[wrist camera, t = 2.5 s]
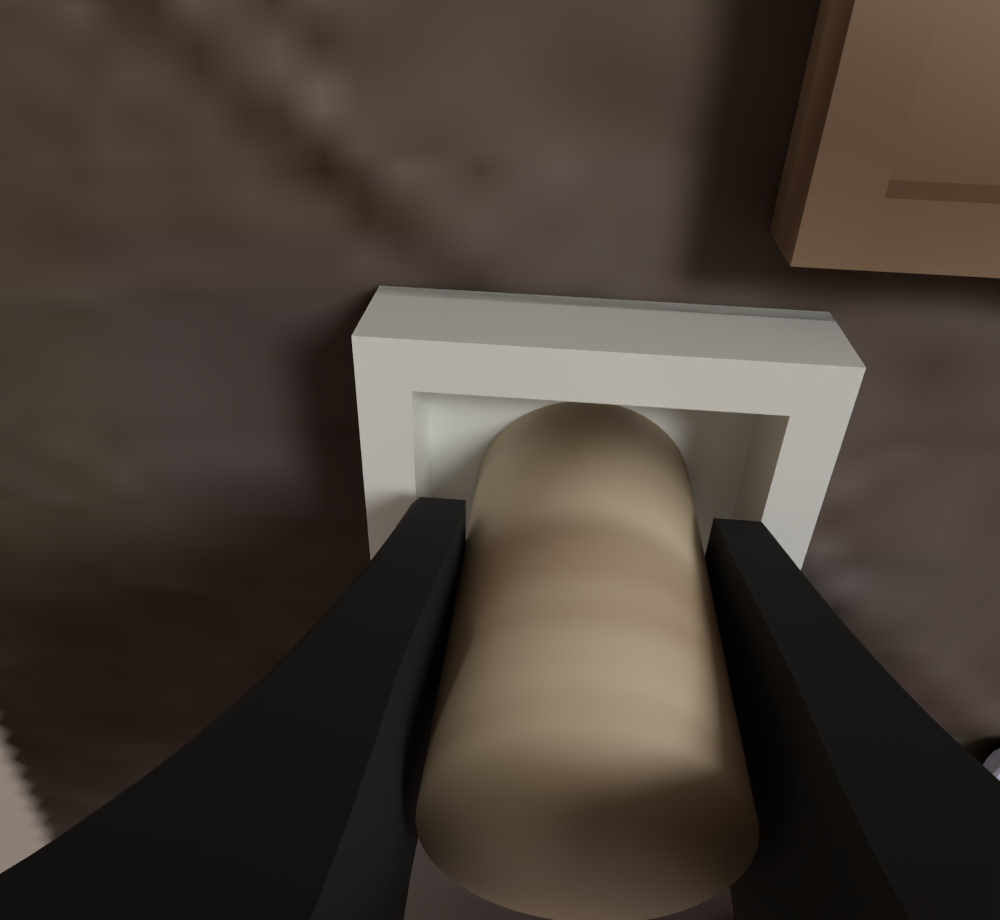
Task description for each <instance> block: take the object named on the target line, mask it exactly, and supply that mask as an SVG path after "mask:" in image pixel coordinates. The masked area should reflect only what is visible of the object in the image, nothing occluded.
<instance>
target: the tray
mask: <svg viewBox="0 0 1000 920" xmlns="http://www.w3.org/2000/svg"><path fill="white" fill-rule="evenodd" d="M769 233H770V235H771V237H772V238H773V240H774V241H775V243H776V244H777V246H778V248H779V249H780V251H781V252H782V254H783V256H784V257H785V259H786V260H787V262H788V264H789V265H790V267H808V268H826V269H844V270H862V271H880V272H898V273H916V274H934V275H952V276H970V277H988V278H1000V0H821V1H820V6H819V10H818V15H817V19H816V24H815V28H814V33H813V37H812V42H811V46H810V51H809V55H808V60H807V64H806V69H805V73H804V78H803V82H802V87H801V91H800V96H799V100H798V105H797V109H796V114H795V118H794V123H793V127H792V132H791V136H790V141H789V145H788V150H787V154H786V159H785V163H784V168H783V172H782V177H781V181H780V186H779V190H778V195H777V199H776V204H775V208H774V213H773V217H772V222H771V226H770V231H769Z"/></svg>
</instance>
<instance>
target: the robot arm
mask: <svg viewBox="0 0 1000 920" xmlns="http://www.w3.org/2000/svg"><path fill="white" fill-rule="evenodd" d="M465 544H466V500H458V499H444V498H431V497H419V498H418V499H417V500H415V501H414V502H413V503H412V504H411V505H410V507H409V509H408V510H407V512H406V513H405V515H404V516H403V518H402V519H401V520H400V522H399V523H398V525H397V526H396V528H395V529H394V530H393V532H392V533H391V534H390V536H389V537H388V538H387V540H386V541H385V543H384V544H383V545H382V546H381V548H380V549H379V550H378V552H377V553H376V554H375V555H374V557H373V558H372V559H371V561H370V562H369V563H368V564H367V566H366V567H365V568H364V569H363V570H362V572H361V573H360V574H359V575H358V576H357V578H356V579H355V580H354V581H353V582H352V584H351V585H350V586H349V587H348V588H347V590H346V591H345V592H344V593H343V594H342V596H341V597H340V598H339V599H338V600H337V601H336V603H335V604H334V605H333V606H332V607H331V608H330V609H329V610H328V611H327V613H326V614H325V615H324V616H323V617H322V618H321V619H320V620H319V621H318V622H317V623H316V624H315V625H314V626H313V627H312V628H311V630H310V631H309V632H308V633H307V634H306V635H305V636H304V637H303V638H302V639H301V640H300V641H299V642H298V643H297V644H296V645H295V647H294V648H293V649H292V650H291V651H290V652H289V653H288V654H287V655H286V656H285V657H284V658H283V659H282V660H281V661H280V662H279V663H278V664H277V665H275V666H274V667H273V668H272V669H271V670H270V671H269V672H268V673H267V674H266V675H265V676H264V677H263V678H262V679H261V680H260V681H259V682H258V683H257V684H256V685H254V686H253V687H252V688H251V689H250V690H249V691H248V692H247V693H245V694H244V695H243V696H242V697H241V698H240V699H239V700H238V701H237V702H235V703H234V704H233V705H232V706H231V707H230V708H229V709H228V710H226V711H225V712H224V713H223V714H222V715H221V716H219V717H218V718H217V719H216V720H214V721H213V722H212V723H211V724H210V725H208V726H207V727H206V728H205V729H203V730H202V731H201V732H200V733H199V734H197V735H196V736H195V737H194V738H193V739H191V740H190V741H189V742H188V743H186V744H185V745H184V746H183V747H182V748H180V749H179V750H178V751H177V752H175V753H174V754H173V755H172V756H170V757H169V758H168V759H166V760H165V761H164V762H163V763H161V764H160V765H159V766H157V767H156V768H155V769H153V770H152V771H151V772H149V773H148V774H147V775H145V776H144V777H143V778H141V779H140V780H139V781H137V782H136V783H134V784H133V785H132V786H130V787H129V788H127V789H126V790H125V791H123V792H122V793H120V794H119V795H117V796H116V797H115V798H113V799H112V800H110V801H109V802H107V803H106V804H105V805H103V806H102V807H100V808H99V809H97V810H96V811H95V812H93V813H92V814H90V815H89V816H87V817H86V818H85V819H83V820H82V821H80V822H79V823H77V824H76V825H75V826H73V827H72V828H70V829H69V830H67V831H66V832H65V833H63V834H62V835H60V836H59V837H58V838H56V839H55V840H53V841H51V842H50V843H48V844H47V845H45V846H44V847H42V848H41V849H39V850H38V851H36V852H35V853H33V854H32V855H30V856H29V857H27V858H25V859H24V860H22V861H20V862H19V863H17V864H16V865H14V866H12V867H11V868H9V869H7V870H6V871H4V872H2V873H1V874H0V920H404V913H405V907H406V900H407V894H408V887H409V881H410V875H411V870H412V865H413V860H414V855H415V850H416V845H417V840H418V834H417V828H416V822H415V819H416V807H417V801H418V796H419V790H420V785H421V780H422V774H423V769H424V763H425V758H426V753H427V747H428V742H429V736H430V731H431V726H432V720H433V715H434V709H435V704H436V699H437V693H438V688H439V682H440V677H441V672H442V666H443V661H444V655H445V650H446V645H447V639H448V634H449V628H450V623H451V618H452V612H453V607H454V603H455V598H456V593H457V587H458V582H459V577H460V571H461V566H462V560H463V555H464V550H465ZM705 561H706V566H707V571H708V576H709V581H710V586H711V591H712V596H713V601H714V606H715V611H716V616H717V620H718V625H719V630H720V635H721V640H722V645H723V650H724V655H725V660H726V665H727V670H728V675H729V680H730V685H731V690H732V695H733V700H734V705H735V710H736V715H737V720H738V725H739V730H740V735H741V740H742V745H743V750H744V755H745V760H746V765H747V770H748V775H749V780H750V785H751V790H752V795H753V800H754V805H755V810H756V815H757V820H758V825H759V842H758V846H757V850H756V854H755V856H754V858H753V860H752V862H751V864H750V865H749V867H748V868H747V869H746V871H745V872H744V873H743V874H742V876H741V877H740V878H739V879H738V880H737V881H735V882H734V883H733V884H732V885H731V886H730V891H731V898H732V904H733V911H734V920H1000V748H999V749H997V750H995V751H993V752H992V753H991V754H990V755H989V757H988V758H987V759H986V761H985V762H984V764H983V765H982V764H981V763H980V762H979V761H978V760H976V759H975V758H974V757H973V756H972V755H971V754H970V753H969V752H968V751H967V750H965V749H964V748H963V747H962V746H961V745H960V744H959V743H958V742H957V741H956V740H954V739H953V738H952V737H951V736H950V735H949V734H948V733H947V732H946V731H945V730H944V729H943V728H942V727H941V726H940V725H939V724H938V723H937V722H936V721H935V720H934V719H933V718H932V717H931V716H930V715H928V714H927V713H926V712H925V711H924V710H923V708H922V707H921V706H920V705H919V704H918V703H917V702H916V701H915V700H914V699H913V698H912V697H911V696H910V695H909V694H908V693H907V692H906V691H905V690H904V689H903V688H902V687H901V686H900V685H899V684H898V683H897V682H896V681H895V679H894V678H893V677H892V676H891V675H890V674H889V673H888V672H887V671H886V670H885V669H884V668H883V667H882V666H881V665H880V664H879V662H878V661H877V660H876V659H875V658H874V657H873V656H872V655H871V654H870V653H869V651H868V650H867V649H866V648H865V647H864V646H863V644H862V643H861V642H860V641H859V640H858V639H857V638H856V636H855V635H854V634H853V633H852V632H851V631H850V629H849V628H848V627H847V626H846V625H845V624H844V623H843V621H842V620H841V619H840V618H839V617H838V616H837V614H836V613H835V612H834V611H833V610H832V608H831V607H830V606H829V605H828V604H827V602H826V601H825V600H824V599H823V598H822V596H821V595H820V594H819V593H818V591H817V590H816V589H815V588H814V586H813V585H812V584H811V583H810V581H809V580H808V579H807V578H806V577H805V575H804V574H803V573H802V572H801V570H800V569H799V568H798V566H797V565H796V564H795V563H794V561H793V560H792V559H791V558H790V556H789V555H788V554H787V553H786V551H785V550H784V549H783V548H782V546H781V545H780V544H779V543H778V541H777V540H776V539H775V538H774V536H773V535H772V534H771V533H770V531H769V530H768V529H767V528H766V526H765V525H764V524H763V523H762V522H761V521H747V520H733V519H720V518H713V523H712V527H711V531H710V536H709V540H708V545H707V549H706V553H705Z"/></svg>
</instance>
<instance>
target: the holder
mask: <svg viewBox="0 0 1000 920" xmlns="http://www.w3.org/2000/svg"><path fill="white" fill-rule="evenodd" d="M351 337H352V349H353V361H354V373H355V384H356V396H357V408H358V420H359V431H360V443H361V455H362V467H363V478H364V490H365V502H366V514H367V525H368V537H369V549H370V561H371V559H372V558H373V557H374V555H375V554H376V553H377V552H378V550H379V549H380V548H381V546H382V545H383V544H384V543H385V541H386V540H387V538H388V537H389V536H390V534H391V533H392V532H393V530H394V529H395V528H396V526H397V525H398V523H399V522H400V520H401V519H402V518H403V516H404V515H405V513H406V512H407V510H408V509H409V507H410V505H411V504H412V503H413V502H414V501H415V500H417V499H418V498H419V497H431V498H444V499H458V500H466V537H467V531H468V526H469V521H470V515H471V510H472V504H473V499H474V494H475V488H476V483H477V477H478V472H479V469H480V465H481V462H482V459H483V457H484V455H485V453H486V451H487V449H488V448H489V446H490V445H491V443H492V442H493V440H494V439H495V438H496V437H497V436H498V435H499V433H500V432H501V431H503V430H504V429H505V428H506V427H507V426H508V425H509V424H511V423H512V422H514V421H515V420H517V419H518V418H520V417H521V416H523V415H525V414H527V413H529V412H531V411H533V410H536V409H539V408H542V407H544V406H547V405H552V404H556V403H560V402H584V403H599V404H614V405H618V406H622V407H625V408H627V409H630V410H633V411H635V412H637V413H639V414H641V415H643V416H645V417H647V418H648V419H650V420H651V421H652V422H654V423H655V424H657V425H658V426H659V427H660V428H661V429H662V430H664V431H665V432H666V433H667V434H668V435H669V437H670V438H671V439H672V440H673V441H674V443H675V444H676V445H677V447H678V449H679V451H680V452H681V454H682V456H683V459H684V461H685V464H686V466H687V471H688V476H689V481H690V486H691V491H692V496H693V501H694V506H695V511H696V516H697V521H698V526H699V531H700V536H701V541H702V546H703V551H704V556H705V553H706V549H707V545H708V540H709V536H710V531H711V527H712V523H713V518H720V519H733V520H747V521H761V522H762V523H763V524H764V525H765V526H766V528H767V529H768V530H769V531H770V533H771V534H772V535H773V536H774V538H775V539H776V540H777V541H778V543H779V544H780V545H781V546H782V548H783V549H784V550H785V551H786V553H787V554H788V555H789V556H790V558H791V559H792V560H793V561H794V563H795V564H796V565H797V566H798V568H799V569H800V570H801V568H802V564H803V561H804V558H805V555H806V552H807V549H808V546H809V543H810V540H811V537H812V534H813V530H814V527H815V524H816V521H817V518H818V515H819V512H820V509H821V506H822V503H823V499H824V496H825V493H826V490H827V487H828V484H829V481H830V478H831V475H832V472H833V469H834V465H835V462H836V459H837V456H838V453H839V450H840V447H841V444H842V441H843V438H844V434H845V431H846V428H847V425H848V422H849V419H850V416H851V413H852V410H853V407H854V404H855V400H856V397H857V394H858V391H859V388H860V385H861V382H862V379H863V376H864V373H865V369H866V367H865V365H864V364H863V362H862V361H861V359H860V358H859V356H858V355H857V353H856V352H855V350H854V349H853V347H852V346H851V344H850V343H849V341H848V339H847V338H846V336H845V335H844V333H843V332H842V330H841V329H840V327H839V326H838V324H837V323H836V321H835V320H834V318H833V317H832V315H831V314H830V312H822V311H805V310H788V309H771V308H754V307H737V306H719V305H702V304H685V303H668V302H651V301H634V300H617V299H600V298H582V297H565V296H548V295H531V294H514V293H497V292H480V291H463V290H446V289H428V288H411V287H394V286H379V287H378V289H377V291H376V293H375V295H374V296H373V298H372V300H371V302H370V304H369V305H368V307H367V309H366V311H365V312H364V314H363V316H362V318H361V320H360V321H359V323H358V325H357V327H356V328H355V330H354V332H353V334H352V336H351Z"/></svg>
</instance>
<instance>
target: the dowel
mask: <svg viewBox="0 0 1000 920" xmlns="http://www.w3.org/2000/svg"><path fill="white" fill-rule="evenodd" d="M415 822H416V828H417V834H418V836H419V839H420V841H421V844H422V846H423V848H424V850H425V851H426V853H427V854H428V856H429V858H430V859H431V860H432V861H433V862H434V863H435V864H436V866H437V867H438V868H439V869H440V870H441V871H442V872H443V873H445V874H446V875H447V876H448V877H449V878H450V879H452V880H453V881H454V882H456V883H457V884H459V885H460V886H462V887H463V888H465V889H466V890H468V891H470V892H472V893H473V894H475V895H477V896H479V897H481V898H483V899H485V900H488V901H490V902H492V903H494V904H497V905H500V906H503V907H505V908H508V909H511V910H514V911H518V912H521V913H525V914H528V915H532V916H537V917H542V918H547V919H553V920H648V919H653V918H658V917H662V916H667V915H671V914H674V913H677V912H681V911H684V910H687V909H689V908H692V907H694V906H697V905H699V904H702V903H704V902H706V901H708V900H709V899H711V898H713V897H715V896H717V895H718V894H720V893H721V892H723V891H724V890H726V889H727V888H729V887H730V886H731V885H732V884H733V883H734V882H735V881H737V880H738V879H739V878H740V877H741V876H742V874H743V873H744V872H745V871H746V869H747V868H748V867H749V865H750V864H751V862H752V860H753V858H754V856H755V854H756V850H757V846H758V842H759V825H758V820H757V815H756V810H755V805H754V800H753V795H752V790H751V785H750V780H749V775H748V770H747V765H746V760H745V755H744V750H743V745H742V740H741V735H740V730H739V725H738V720H737V715H736V710H735V705H734V700H733V695H732V690H731V685H730V680H729V675H728V670H727V665H726V660H725V655H724V650H723V645H722V640H721V635H720V630H719V625H718V620H717V616H716V611H715V606H714V601H713V596H712V591H711V586H710V581H709V576H708V571H707V566H706V561H705V556H704V551H703V546H702V541H701V536H700V531H699V526H698V521H697V516H696V511H695V506H694V501H693V496H692V491H691V486H690V481H689V476H688V471H687V466H686V464H685V461H684V459H683V456H682V454H681V452H680V451H679V449H678V447H677V445H676V444H675V443H674V441H673V440H672V439H671V438H670V437H669V435H668V434H667V433H666V432H665V431H664V430H662V429H661V428H660V427H659V426H658V425H657V424H655V423H654V422H652V421H651V420H650V419H648V418H647V417H645V416H643V415H641V414H639V413H637V412H635V411H633V410H630V409H627V408H625V407H622V406H618V405H614V404H599V403H584V402H560V403H556V404H552V405H547V406H544V407H542V408H539V409H536V410H533V411H531V412H529V413H527V414H525V415H523V416H521V417H520V418H518V419H517V420H515V421H514V422H512V423H511V424H509V425H508V426H507V427H506V428H505V429H504V430H503V431H501V432H500V433H499V435H498V436H497V437H496V438H495V439H494V440H493V442H492V443H491V445H490V446H489V448H488V449H487V451H486V453H485V455H484V457H483V459H482V462H481V465H480V469H479V472H478V477H477V483H476V488H475V494H474V499H473V504H472V510H471V515H470V521H469V526H468V531H467V537H466V544H465V550H464V555H463V560H462V566H461V571H460V577H459V582H458V587H457V593H456V598H455V603H454V607H453V612H452V618H451V623H450V628H449V634H448V639H447V645H446V650H445V655H444V661H443V666H442V672H441V677H440V682H439V688H438V693H437V699H436V704H435V709H434V715H433V720H432V726H431V731H430V736H429V742H428V747H427V753H426V758H425V763H424V769H423V774H422V780H421V785H420V790H419V796H418V801H417V807H416V819H415Z"/></svg>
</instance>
